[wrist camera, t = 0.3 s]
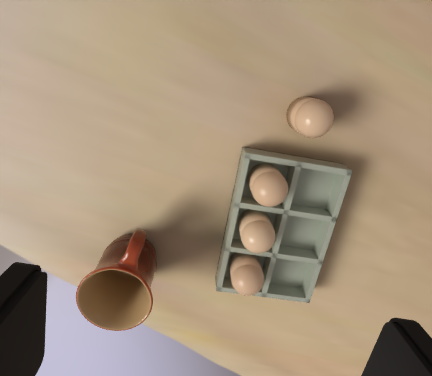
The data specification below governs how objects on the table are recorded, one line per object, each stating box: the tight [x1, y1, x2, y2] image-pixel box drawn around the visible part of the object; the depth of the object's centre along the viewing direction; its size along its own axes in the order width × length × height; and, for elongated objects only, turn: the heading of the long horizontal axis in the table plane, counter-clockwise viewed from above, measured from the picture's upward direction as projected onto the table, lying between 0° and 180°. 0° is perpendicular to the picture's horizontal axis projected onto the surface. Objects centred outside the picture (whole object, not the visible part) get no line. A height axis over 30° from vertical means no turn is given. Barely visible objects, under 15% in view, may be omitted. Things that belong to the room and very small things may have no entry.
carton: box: [215, 147, 352, 303], centre depth 43 cm, size 20×14×7 cm
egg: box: [287, 97, 334, 138], centre depth 39 cm, size 4×4×6 cm
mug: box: [76, 229, 157, 331], centre depth 42 cm, size 12×9×10 cm
